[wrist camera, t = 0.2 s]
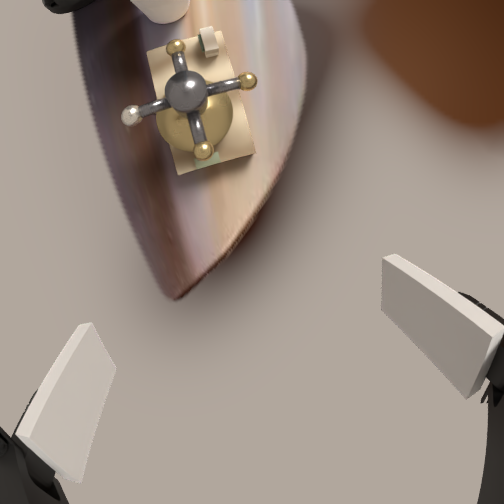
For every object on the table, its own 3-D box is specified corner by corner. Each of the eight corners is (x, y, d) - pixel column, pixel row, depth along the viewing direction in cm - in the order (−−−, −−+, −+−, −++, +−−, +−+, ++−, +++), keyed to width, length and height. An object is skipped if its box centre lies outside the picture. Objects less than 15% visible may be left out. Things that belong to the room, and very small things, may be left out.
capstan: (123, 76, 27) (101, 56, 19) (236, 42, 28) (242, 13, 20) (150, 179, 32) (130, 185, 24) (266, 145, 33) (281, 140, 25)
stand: (150, 57, 29) (142, 45, 24) (220, 38, 29) (221, 22, 25) (180, 174, 35) (175, 176, 30) (253, 153, 35) (259, 152, 31)
